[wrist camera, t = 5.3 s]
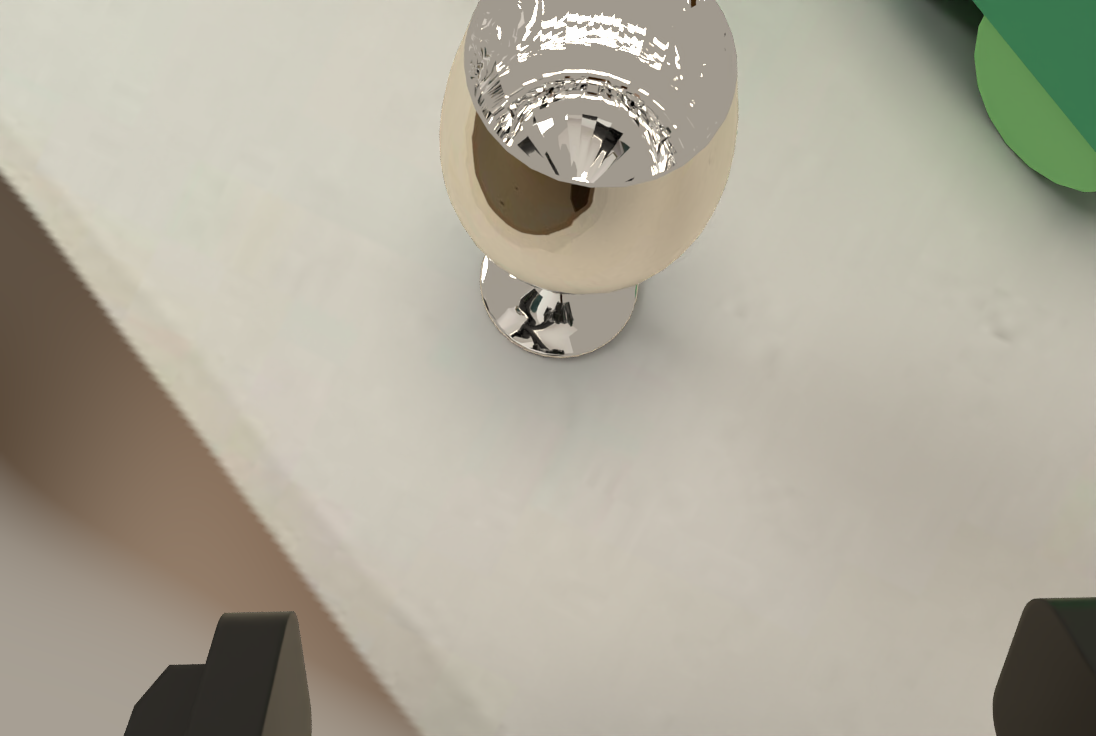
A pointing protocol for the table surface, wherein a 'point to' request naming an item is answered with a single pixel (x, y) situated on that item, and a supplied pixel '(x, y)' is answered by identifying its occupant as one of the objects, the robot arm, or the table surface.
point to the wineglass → (585, 155)
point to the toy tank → (1042, 83)
